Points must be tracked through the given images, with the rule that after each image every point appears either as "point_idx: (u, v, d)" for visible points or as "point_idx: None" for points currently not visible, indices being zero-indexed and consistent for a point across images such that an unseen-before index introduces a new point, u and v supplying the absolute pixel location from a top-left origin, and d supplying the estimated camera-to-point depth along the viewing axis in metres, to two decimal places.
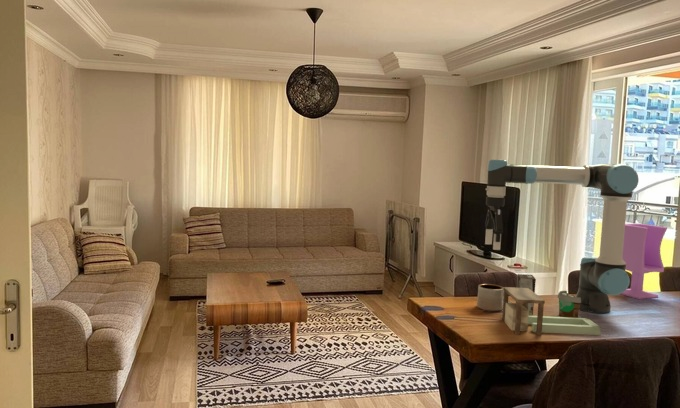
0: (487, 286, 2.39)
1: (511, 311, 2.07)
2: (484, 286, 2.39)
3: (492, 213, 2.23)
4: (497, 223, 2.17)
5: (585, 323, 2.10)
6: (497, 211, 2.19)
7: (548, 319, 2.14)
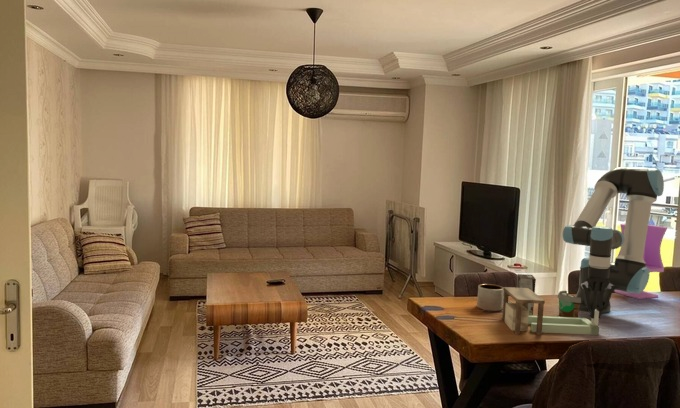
0: (487, 286, 2.39)
1: (511, 311, 2.07)
2: (484, 286, 2.39)
3: None
4: (584, 298, 2.09)
5: (584, 323, 2.10)
6: (581, 286, 2.09)
7: (547, 319, 2.14)
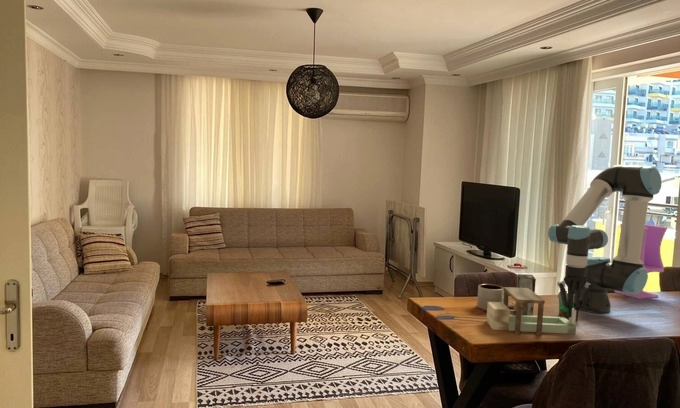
0: (487, 286, 2.39)
1: (492, 310, 2.07)
2: (484, 286, 2.39)
3: None
4: (561, 297, 2.10)
5: (561, 322, 2.10)
6: (558, 285, 2.09)
7: (525, 318, 2.14)
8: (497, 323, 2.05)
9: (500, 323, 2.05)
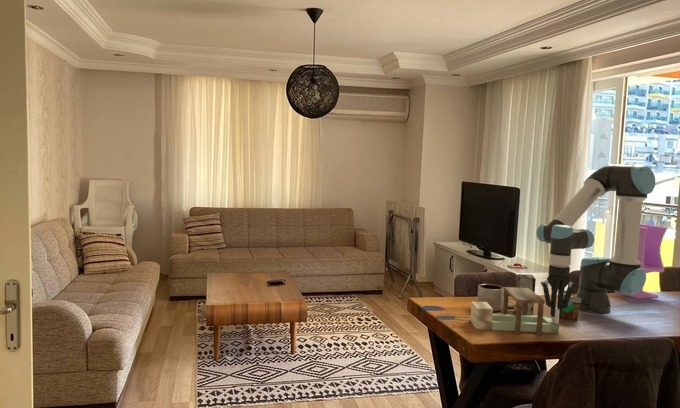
0: (487, 286, 2.39)
1: (475, 309, 2.07)
2: (484, 286, 2.39)
3: None
4: (545, 296, 2.10)
5: (545, 321, 2.11)
6: (541, 284, 2.09)
7: (508, 317, 2.14)
8: (480, 322, 2.06)
9: (483, 323, 2.06)
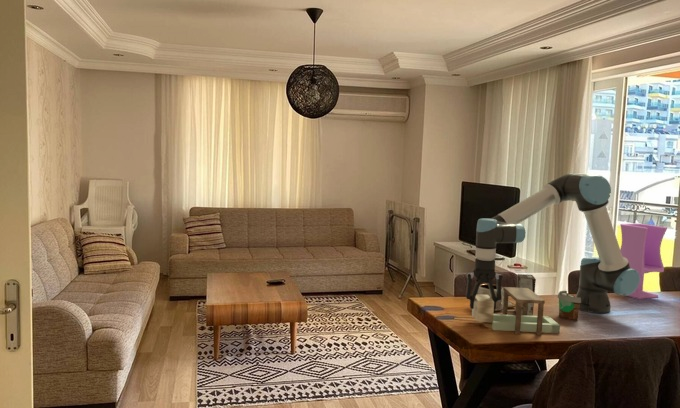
0: (487, 286, 2.39)
1: (477, 302, 2.07)
2: (484, 286, 2.39)
3: None
4: (466, 288, 2.11)
5: (546, 321, 2.11)
6: None
7: (509, 317, 2.14)
8: (481, 315, 2.06)
9: (484, 315, 2.06)
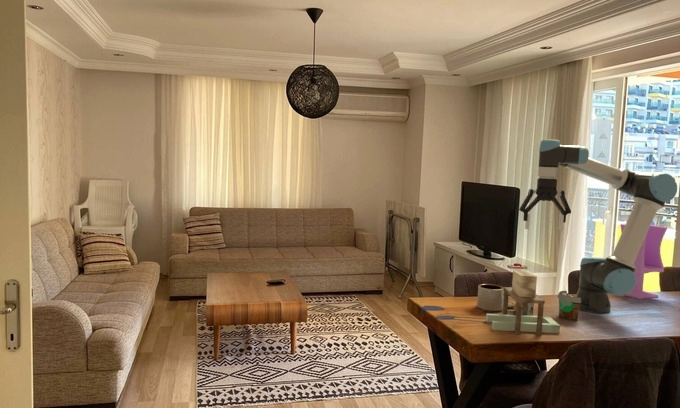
0: (487, 286, 2.39)
1: (519, 277, 2.06)
2: (484, 286, 2.39)
3: None
4: (523, 202, 2.21)
5: (546, 321, 2.11)
6: (529, 190, 2.20)
7: (509, 317, 2.14)
8: (524, 290, 2.04)
9: (527, 290, 2.04)
